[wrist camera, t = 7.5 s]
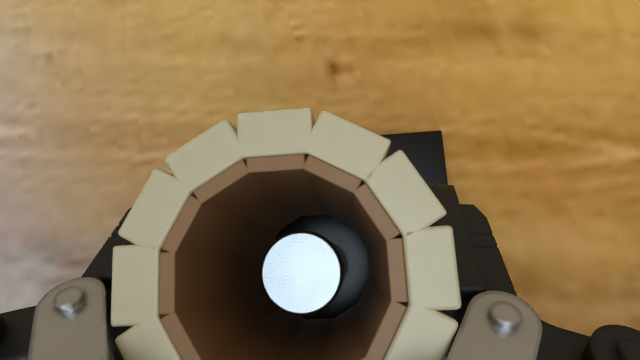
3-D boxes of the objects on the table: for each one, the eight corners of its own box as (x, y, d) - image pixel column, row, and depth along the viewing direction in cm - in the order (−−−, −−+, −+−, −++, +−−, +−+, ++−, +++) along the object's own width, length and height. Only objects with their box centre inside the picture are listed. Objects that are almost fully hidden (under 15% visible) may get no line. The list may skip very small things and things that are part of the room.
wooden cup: (237, 357, 15) (103, 476, 7) (233, 189, 17) (115, 121, 8) (409, 349, 15) (480, 465, 7) (393, 178, 16) (438, 96, 8)
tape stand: (204, 404, 18) (65, 542, 9) (202, 153, 20) (85, 74, 11) (468, 394, 17) (583, 532, 9) (438, 134, 19) (507, 34, 11)
